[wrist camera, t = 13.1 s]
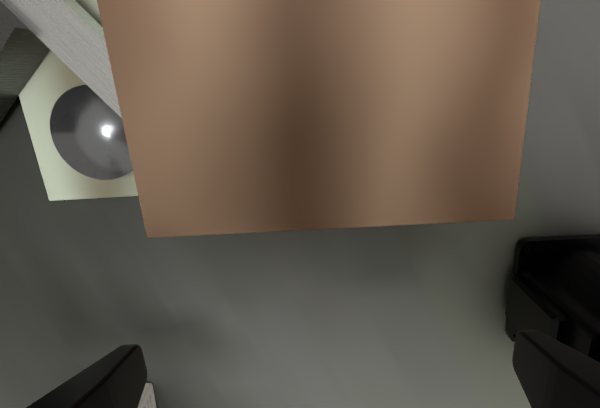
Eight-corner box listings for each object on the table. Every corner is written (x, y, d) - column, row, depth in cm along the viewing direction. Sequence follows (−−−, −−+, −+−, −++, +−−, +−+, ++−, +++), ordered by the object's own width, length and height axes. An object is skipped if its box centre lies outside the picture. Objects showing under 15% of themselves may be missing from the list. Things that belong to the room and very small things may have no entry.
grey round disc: (133, 73, 18) (121, 73, 17) (167, 162, 19) (158, 167, 18) (50, 97, 19) (32, 99, 17) (88, 183, 20) (75, 189, 19)
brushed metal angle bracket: (-12, -64, 14) (-101, 107, 17) (198, 143, 16) (84, 268, 18) (38, -45, 16) (-48, 103, 19) (217, 134, 18) (113, 247, 21)
